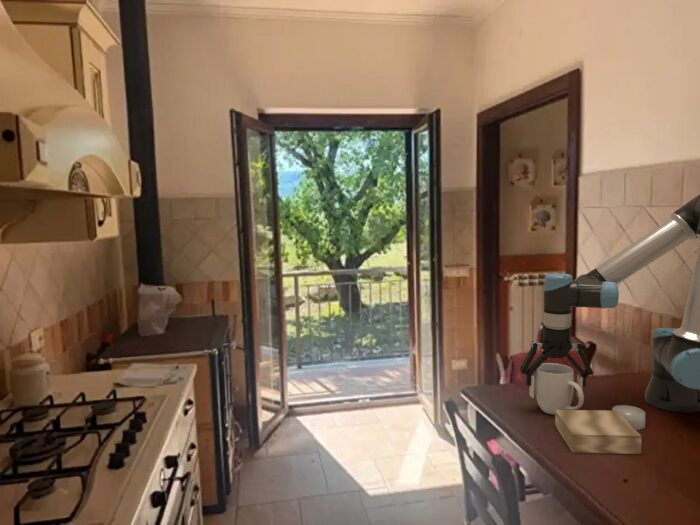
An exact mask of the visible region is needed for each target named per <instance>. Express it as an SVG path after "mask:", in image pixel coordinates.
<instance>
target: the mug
mask: <svg viewBox="0 0 700 525" xmlns="http://www.w3.org/2000/svg"><path fill="white" fill-rule="evenodd" d="M574 374H575V371H574V368H572V367H571V366H569V365H566V364H561V363H555V362H554V363H553V362H551V363H550V362H546V363H545V362H543V363H542V364H541V365H540V366H539V367H538V369H537V370H536V371H535V372H534V373H533V375H534V395H535V397H536V398H535V399H536V401H537V402H536V403H537V404H538V406H539V408H540V409H541V411H543V413H546V414H548V415H553V416H555V410H580V408H581V407H582V406H583V404H584V401H585V400H584V399H585V396H584V392H583V388H582V389H581V387H580V386H579V385H578V384H577V382H575V375H574ZM574 389H575V390H576V393H577V392H578V396H579V398H578V402H577V405H576V406H571V404H572V401H573V397H574Z"/></svg>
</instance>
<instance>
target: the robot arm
mask: <svg viewBox="0 0 700 525" xmlns="http://www.w3.org/2000/svg"><path fill="white" fill-rule="evenodd" d="M696 239H698V240H699V241H700V193H699V194H698V195H696V196H695V197H693V198H692V199H691V200H689V201H688V202H686V203H684V204H683V205H682V206H681V207H679V208H678V209H676V210H675V211H674V212H672V213H671V214H670V217H669V219H668V220H666V221H665V222H663V223H662V224H661V225H659V226H657V227H655V228H654V229H653V230H651V231H650V232H648V233H647V234H645V235H644V236H642V237H641V238H639V239H637V240H636V241H635V242H633V243H632V244H630V245H628V246H627V247H626V248H624V249H622V250H621V251H619V252H617V253H616V254H615V255H613V256H612V257H610V258H609V259H607V260H606V261H604V262H603V263H601V264H600V265H598V266H597V267H595V268H594V269H592V270H590V271H588V272H587V273H586V274H585V273H584V274H581V275H579V276H577V277H576V278H575V279H574V280H573V275H571V274H568V273H559V272H558V273H557V272H556V273H548V274H546V275H545V277H544V283H543V285H544V286H543V319H542V320H543V321H542V322H543V325H544V326H542V327H543V328H542V342H536V341H534V340H533V341H531V344H530V349H529V351H528V352H527V354H526V357H525V358H524V360H523V362H522V364H521V366H520V367H519V372H520V373H521V374H524V375H525V384H526V386H527V387H529V390H528V392H529V393H528V394H529V397H530V398H532V399H534V398H535V388H534V372H535V371H536V370H537V369H538V367H539V366H540V365H541V364H543V363H545V362H546V361H547V360H548V359H549V358H551V359H564V358H566V359H567V360H568V361H569V362H570V364H571V365H572V366H573V367H574V368H575V370H577V372H578V374H577V375H576V383H577V384H578V385H579V386H580V387H581V389H582V390H583V388H586V387H587V378H588V376H593V375H594V370H593V369H592V367H591V365H590V363H589V361H588V359H587V357H586V355H585V353H584V351H583V345H582V343H580V342H579V341H576V342H574V343H572V342H571V341H572V340H571V337H572V336H571V333H572V332H571V331H572V328H570V327H571V326H572V308H593V309H602V310H603V309H604V310H605V309H615V308H616V307H617V306H618V305H619V298H620V295H619V294H620V292H619V290H620V289H619V286H618V285H619V284H620V283H621V282H623V281H625V280H627V279H628V278H630V277H631V276H633V275H634V274H636V273H637V272H639V271H641V270H642V269H644V268H645V267H646V266H648V265H650V264H651V263H654V261H656V260H658V259H659V258H661V257H662V256H664V255H666V254H667V253H669V252H670V251H672V250H674V249H675V248H676V247H679V246H680V245H681V244H683V243H684V242H686V241H688V240H696ZM691 278H692V279H691V283H690V287H689V291H688V294H687V298H686V299H687V300H686V304H685V309H684V313H683V317H682V321H681V325H680V327H678V328H677V327H659V328H656V329H654V330H653V331H652V337H651V341H652V347H651V348H652V349H651V350H652V351H651V354H652V355H651V377H650V380H649V381H648V385H647V387H646V389H645V392H644V401H645V402H646V403H647V404H648V405H650V406H652V407H654V408H658V409H660V410H663V411H669V412H676V413H687V414H689V413H698V412H700V247H699V249H698V253H697V257H696V261H695V266H694V270H693V275H692V277H691ZM540 348H542V350H543V351H542V352H540V355H539V356H538V357H537V358H536V359H535V360H534V357H535V356H536V354H537V351H539V350H540ZM571 350H574V351H575V352H576V353H577V356H578V358H579V359H580V361H581V363H582V365H583V367H584V369H583V368H582V367H581V366H580V365H579V364H578V363H577V361H576V360H575V359H574V358H573V357H572V355H571V354H570V352H571ZM533 360H534V361H533ZM532 361H533V362H532ZM531 363H532V364H531ZM576 397H577V398H578V399H579V396H578V392H577V391H576Z"/></svg>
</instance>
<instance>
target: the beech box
mask: <svg viewBox="0 0 700 525" xmlns="http://www.w3.org/2000/svg"><path fill="white" fill-rule="evenodd" d="M554 418H555V419H554V421H555V422H554V426H555V428H556V429H557V431H558V433H559V434H560V435H561V437H562V439H563V440H564V441H565V443H566V445H567V446H568V448H569V450H570V451H571V453H578V454H579V453H589V454H596V453H597V454H623V455H624V454H625V455H626V454H629V455H642V435H641V434H640V433H639V432H638V430H635V429H634V428H633V427H632V426H631V425H630V424H629V423H628V422H627V421H626V420H625V419H624V418H623V417H622V416H621V415H620V414H619V413H618V412H617V411H612V410H603V409H602V410H600V409H599V410H598V409H596V410H595V409H594V410H593V409H591V410H590V409H589V410H588V409H583V410H582V409H576V410H555V415H554Z"/></svg>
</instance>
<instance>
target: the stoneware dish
mask: <svg viewBox="0 0 700 525" xmlns="http://www.w3.org/2000/svg"><path fill="white" fill-rule="evenodd" d="M611 411H617V412H618V413H619V414H620V415H621V416H622V417H623V418H624V419H625V420H626V421H627V422H628V423H629V424H630V425H631V426H632V427H633V428H634V429H635V430H636V431H641V430H643V429H645V428H646V411H645V410H643V409H642V408H639V407H637V406H632V405H628V404H627V405H625V404H619V405H618V404H617V405H615V406H612V410H611ZM640 429H641V430H640Z"/></svg>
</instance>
